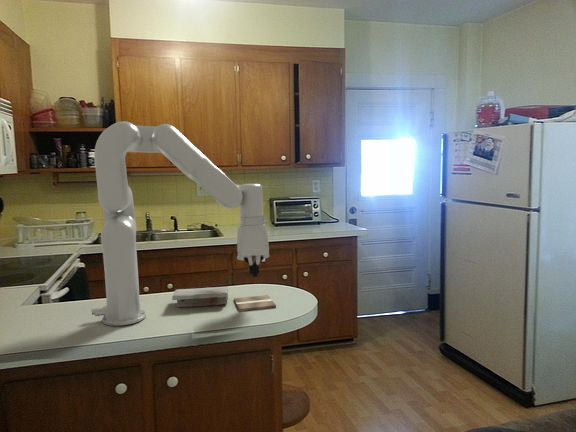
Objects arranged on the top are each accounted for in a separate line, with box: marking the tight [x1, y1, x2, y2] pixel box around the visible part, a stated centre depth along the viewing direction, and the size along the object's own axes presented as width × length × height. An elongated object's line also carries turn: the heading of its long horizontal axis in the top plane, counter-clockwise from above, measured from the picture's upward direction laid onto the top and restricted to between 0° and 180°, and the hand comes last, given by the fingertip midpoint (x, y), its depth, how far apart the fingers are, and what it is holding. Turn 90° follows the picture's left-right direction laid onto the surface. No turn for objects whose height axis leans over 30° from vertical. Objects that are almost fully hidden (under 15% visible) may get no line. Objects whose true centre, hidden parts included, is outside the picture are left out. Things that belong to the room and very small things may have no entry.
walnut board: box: [233, 294, 277, 312], centre depth 149 cm, size 12×12×1 cm
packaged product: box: [171, 286, 229, 308], centre depth 149 cm, size 18×5×10 cm
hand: (254, 275), depth 148 cm, fingers closed
